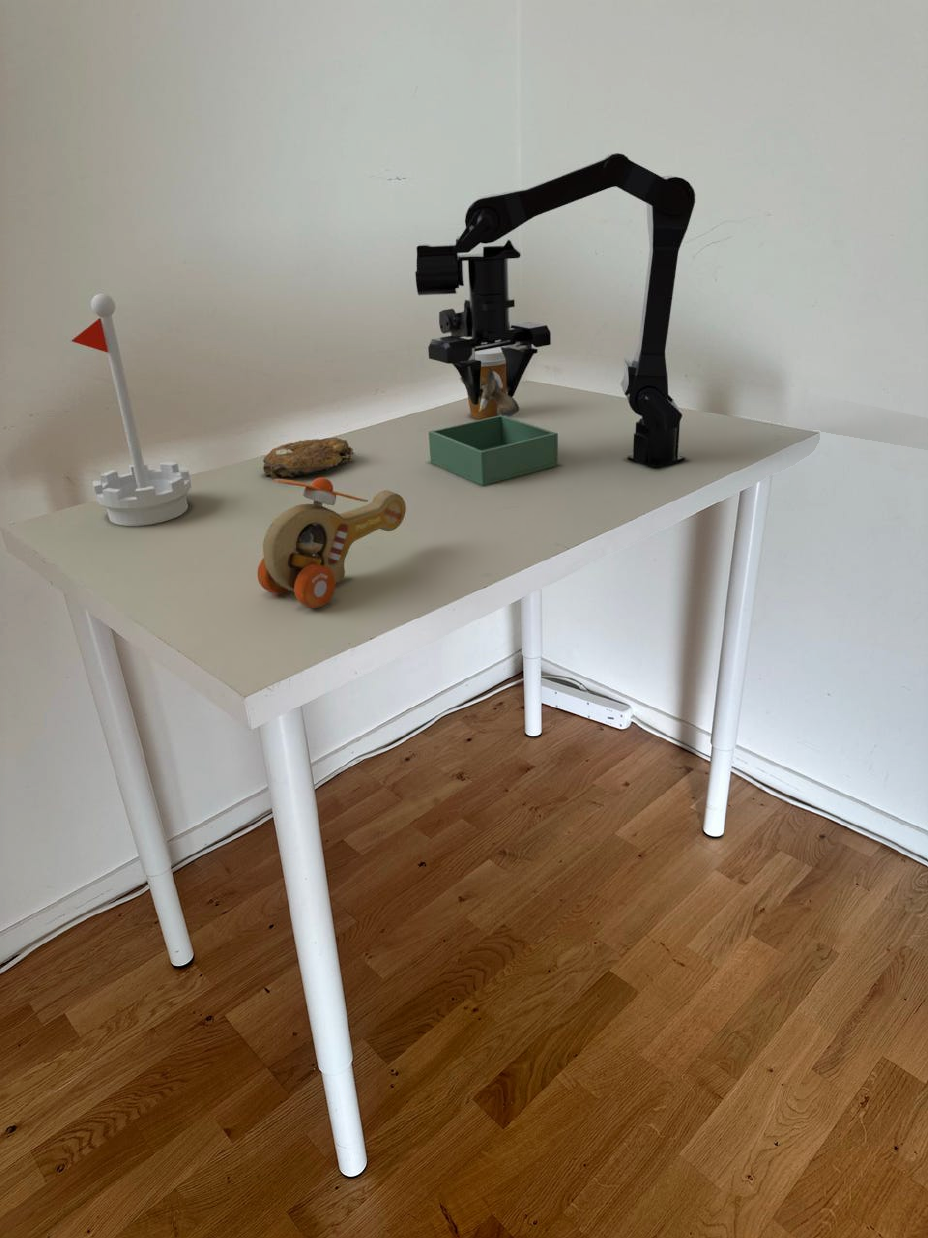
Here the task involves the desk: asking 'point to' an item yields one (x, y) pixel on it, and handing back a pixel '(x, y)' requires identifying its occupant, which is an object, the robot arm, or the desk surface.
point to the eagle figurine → (496, 395)
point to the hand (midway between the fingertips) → (493, 400)
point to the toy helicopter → (320, 541)
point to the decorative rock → (306, 457)
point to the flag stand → (132, 446)
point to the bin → (493, 449)
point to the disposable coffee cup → (496, 363)
